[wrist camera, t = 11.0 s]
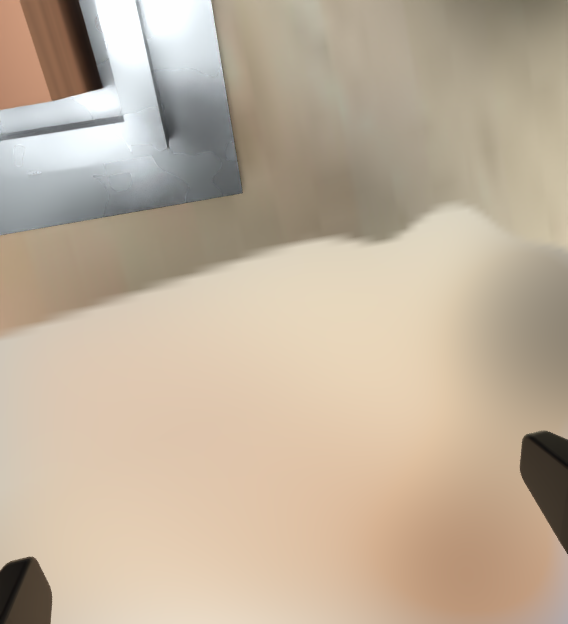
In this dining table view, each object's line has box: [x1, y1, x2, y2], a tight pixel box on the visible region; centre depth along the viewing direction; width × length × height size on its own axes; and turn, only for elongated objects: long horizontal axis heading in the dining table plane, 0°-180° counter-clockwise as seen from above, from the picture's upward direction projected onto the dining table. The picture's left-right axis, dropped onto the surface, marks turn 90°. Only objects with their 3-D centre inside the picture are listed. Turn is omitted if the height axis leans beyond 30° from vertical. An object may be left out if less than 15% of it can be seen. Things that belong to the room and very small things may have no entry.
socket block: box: [0, 0, 243, 235], centre depth 15 cm, size 12×12×4 cm
